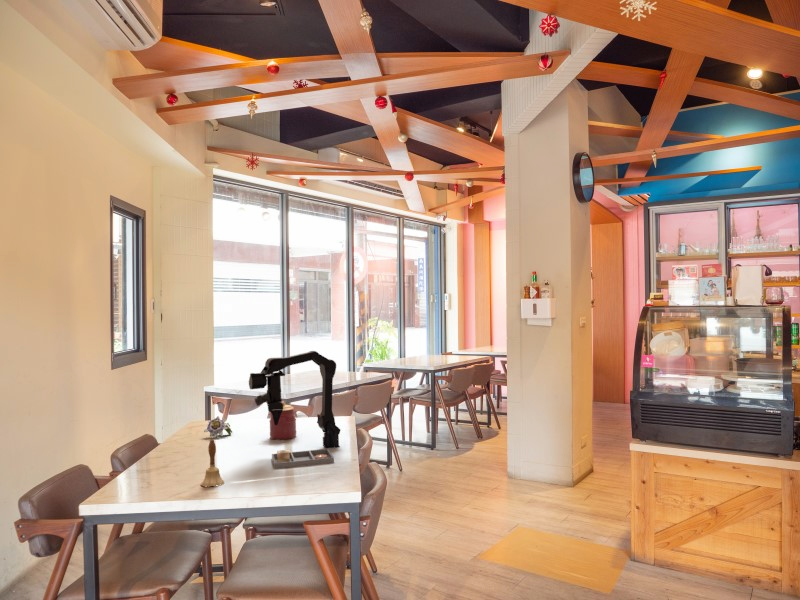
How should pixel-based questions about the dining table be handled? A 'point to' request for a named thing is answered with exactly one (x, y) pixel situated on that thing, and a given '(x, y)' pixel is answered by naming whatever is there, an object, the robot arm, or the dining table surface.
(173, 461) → the dining table surface
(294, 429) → the canister
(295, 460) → the organizer tray
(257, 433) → the dining table surface
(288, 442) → the dining table surface
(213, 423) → the passion flower
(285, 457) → the letter cube
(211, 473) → the hand bell
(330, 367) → the robot arm
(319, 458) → the peach egg shape
